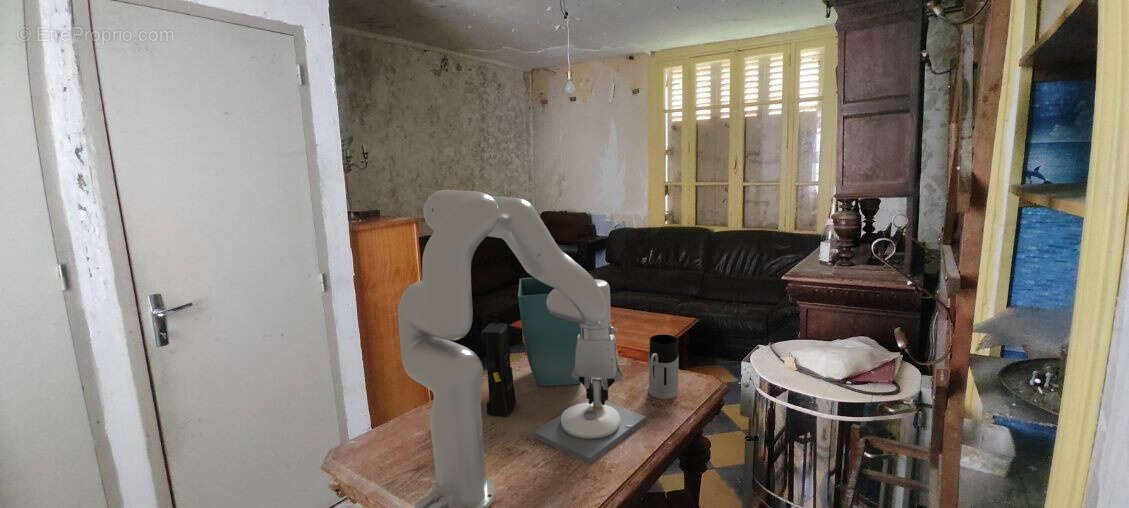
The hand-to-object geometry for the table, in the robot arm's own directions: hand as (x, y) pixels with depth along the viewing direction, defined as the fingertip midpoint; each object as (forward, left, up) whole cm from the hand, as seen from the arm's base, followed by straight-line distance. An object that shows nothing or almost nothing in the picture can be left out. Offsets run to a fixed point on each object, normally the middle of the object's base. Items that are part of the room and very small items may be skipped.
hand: (597, 401), depth 129 cm
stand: (-5, -2, -5) cm, 7 cm away
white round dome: (-5, -2, -3) cm, 6 cm away
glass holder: (+20, -6, -5) cm, 21 cm away
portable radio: (-12, +22, -5) cm, 26 cm away
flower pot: (+12, +24, -5) cm, 27 cm away
